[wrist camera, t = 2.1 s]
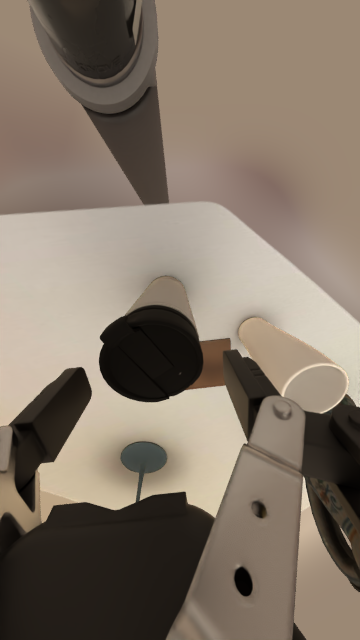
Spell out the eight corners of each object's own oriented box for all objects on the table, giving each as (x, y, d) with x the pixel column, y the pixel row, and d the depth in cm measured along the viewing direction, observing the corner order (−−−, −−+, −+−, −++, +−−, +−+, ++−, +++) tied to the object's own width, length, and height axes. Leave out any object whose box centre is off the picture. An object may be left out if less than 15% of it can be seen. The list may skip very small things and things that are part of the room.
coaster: (174, 344, 32) (174, 345, 31) (229, 338, 32) (230, 339, 31) (180, 388, 35) (180, 390, 35) (230, 383, 35) (231, 384, 35)
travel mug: (169, 265, 27) (157, 291, 8) (193, 299, 29) (227, 382, 10) (137, 289, 28) (65, 358, 10) (163, 320, 30) (143, 429, 11)
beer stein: (340, 366, 35) (687, 601, 11) (337, 433, 41) (550, 669, 18) (256, 387, 36) (413, 639, 12) (266, 449, 42) (380, 689, 19)
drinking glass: (226, 340, 32) (267, 408, 18) (244, 306, 30) (307, 353, 16) (258, 352, 33) (321, 424, 19) (278, 320, 31) (366, 375, 17)
